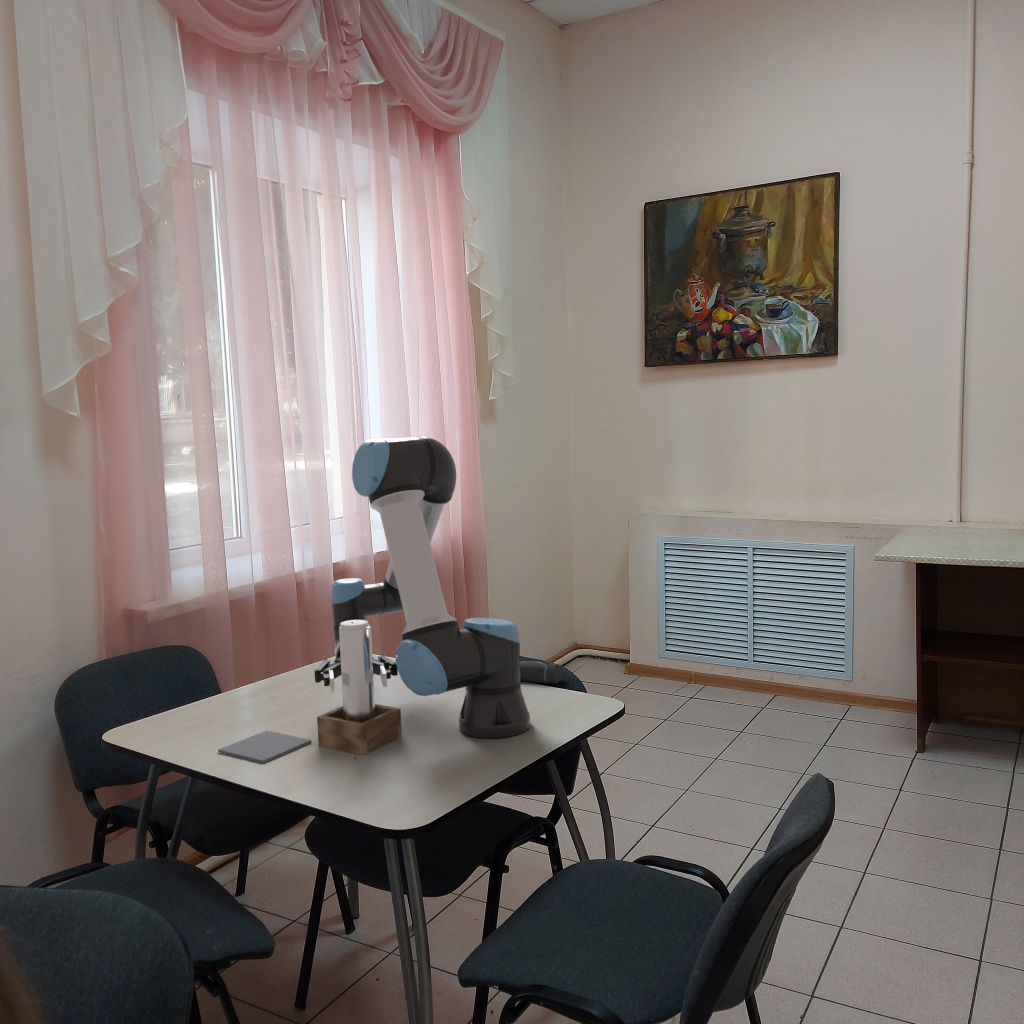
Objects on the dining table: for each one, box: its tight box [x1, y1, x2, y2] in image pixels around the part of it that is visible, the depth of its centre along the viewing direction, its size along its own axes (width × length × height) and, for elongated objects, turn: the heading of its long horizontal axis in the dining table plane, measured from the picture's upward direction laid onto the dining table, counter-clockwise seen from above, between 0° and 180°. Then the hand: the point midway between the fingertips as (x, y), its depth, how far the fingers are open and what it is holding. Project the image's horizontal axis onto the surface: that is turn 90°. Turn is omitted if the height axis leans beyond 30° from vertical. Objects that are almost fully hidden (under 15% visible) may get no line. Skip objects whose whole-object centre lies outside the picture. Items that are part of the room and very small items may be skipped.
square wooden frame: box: [316, 703, 403, 756], centre depth 189 cm, size 12×12×6 cm
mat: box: [217, 730, 312, 764], centre depth 187 cm, size 13×13×1 cm
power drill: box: [520, 660, 562, 685], centre depth 227 cm, size 5×19×20 cm
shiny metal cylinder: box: [339, 620, 376, 723], centre depth 188 cm, size 6×6×25 cm
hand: (358, 682), depth 184 cm, fingers open, 10 cm apart
